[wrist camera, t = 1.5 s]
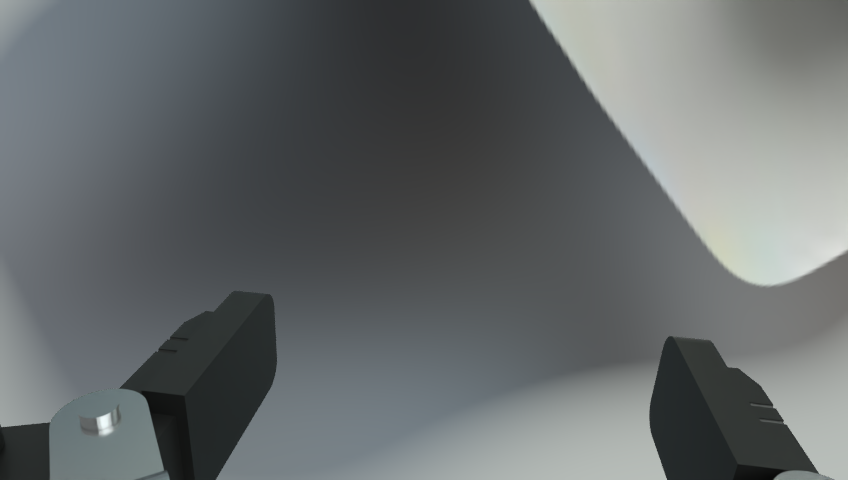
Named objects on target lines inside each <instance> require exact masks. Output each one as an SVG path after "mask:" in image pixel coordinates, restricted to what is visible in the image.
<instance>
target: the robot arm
mask: <svg viewBox="0 0 848 480" xmlns="http://www.w3.org/2000/svg"><path fill="white" fill-rule="evenodd" d="M274 314H275V313H274V302H273V298H272V296H271V295H270V294H263V293H252V292H243V291H234V292H232V293H231V294H230V295H229V296H228V297H227V298H226V299H225V300H224V302H223V303H222V304H221V305H220V306H219V307H218V308H217V309H216V310H215V311H214V312H209V311H205V312H204V313H202V314H200V315H198V316H196V317H194V318H192V319H190V320H188V321H186V322H184V324H183V325H181V327H179V329H178V330H177V331H176V332H175V333H174V334H173V335H172V336H171V337H170V340H167V341H166V342H165V343H164V344H163V345H162V346H161V347H160V348H159V351H158V352H155V353H154V354H153V355H152V356H151V357H150V358H149V359H148V360H147V361H146V362H145V363H144V364H143V365H142V366H141V367H140V368H139V369H138V370H137V371H136V372H135V373H134V374H133V375H132V376H131V377H130V378H129V379H128V380H127V381H126V382H125V383H124V384H123V385H122V386H121V387H120V388H119V389H108V390H101V391H96V392H93V393H90V394H87V395H84V396H81V397H79V398H77V399H75V400H73V401H71V402H70V403H68V404H67V405H65V406H64V407H63V408H61V409H60V410H59V411H58V412H57V413H56V414H55V416H54V417H53V418H52V420H51V422H50V423H41V424H31V425H21V426H11V427H1V426H0V480H216V478H217V476H218V475H219V473H220V471H221V469H222V468H223V466H224V465H225V463H226V461H227V460H228V458H229V456H230V455H231V453H232V451H233V450H234V448H235V446H236V445H237V443H238V441H239V440H240V438H241V436H242V434H243V433H244V431H245V430H246V428H247V426H248V425H249V423H250V421H251V420H252V418H253V416H254V415H255V413H256V411H257V410H258V408H259V406H260V405H261V403H262V401H263V400H264V398H265V396H266V395H267V393H268V391H269V390H270V388H271V385H272V383H273V380H274V376H275V372H276V365H277V353H276V333H275V315H274ZM783 421H784V420H783V419H782V417H781V416H780V415H779V413H778V411H777V410H776V409H775V408H773V404H772V402H771V401H770V399H769V398H768V396H767V395H766V393H765V392H764V390H763V389H762V387H761V386H760V385H759V384H757V383H756V382H755V381H754V380H752V379H751V378H750V377H748V376H747V375H746V374H745V373H743V372H742V371H741V370H740V369H738V368H728V367H727V366H726V364H725V362H724V361H723V359H722V358H721V356H720V354H719V352H718V351H717V349H716V348H715V346H714V344H713V343H712V342H711V341H710V340H703V339H694V338H683V337H673V336H670V337H668V338H667V339H666V341H665V344H664V347H663V351H662V355H661V359H660V364H659V368H658V372H657V377H656V381H655V385H654V390H653V394H652V398H651V403H650V428H651V433H652V437H653V440H654V443H655V446H656V448H657V451H658V454H659V457H660V460H661V463H662V466H663V469H664V472H665V475H666V478H667V480H834V479H832V478H829V477H826V476H823V475H821V474H819V473H818V471H817V470H816V468H815V467H814V465H813V464H812V462H811V461H810V459H809V458H808V456H807V455H806V454H805V452H804V450H803V449H802V447H801V446H800V444H799V443H798V441H797V440H796V438H795V437H794V435H793V434H792V432H791V431H790V429H789V428H788V426H787V425H785V424H784V423H783Z"/></svg>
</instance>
